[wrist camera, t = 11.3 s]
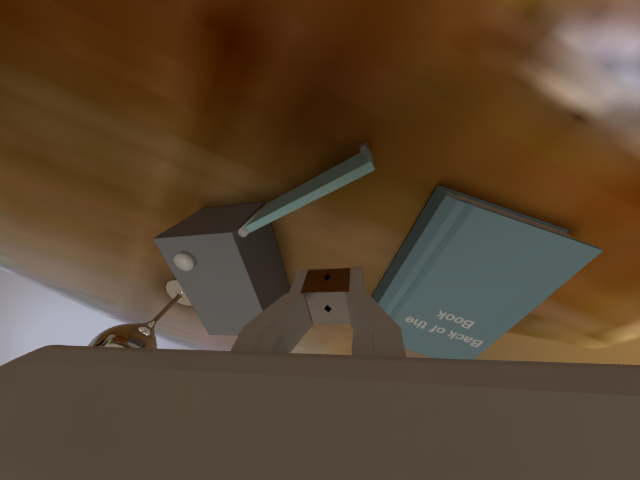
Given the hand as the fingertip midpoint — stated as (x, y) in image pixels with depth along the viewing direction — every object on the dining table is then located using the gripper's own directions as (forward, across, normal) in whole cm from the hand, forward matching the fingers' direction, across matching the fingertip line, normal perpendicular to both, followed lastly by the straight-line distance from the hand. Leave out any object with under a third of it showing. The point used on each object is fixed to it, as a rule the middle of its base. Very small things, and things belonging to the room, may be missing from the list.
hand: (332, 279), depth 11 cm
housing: (+19, +17, +11) cm, 28 cm away
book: (+20, -12, +16) cm, 28 cm away
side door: (+19, +5, 0) cm, 20 cm away
